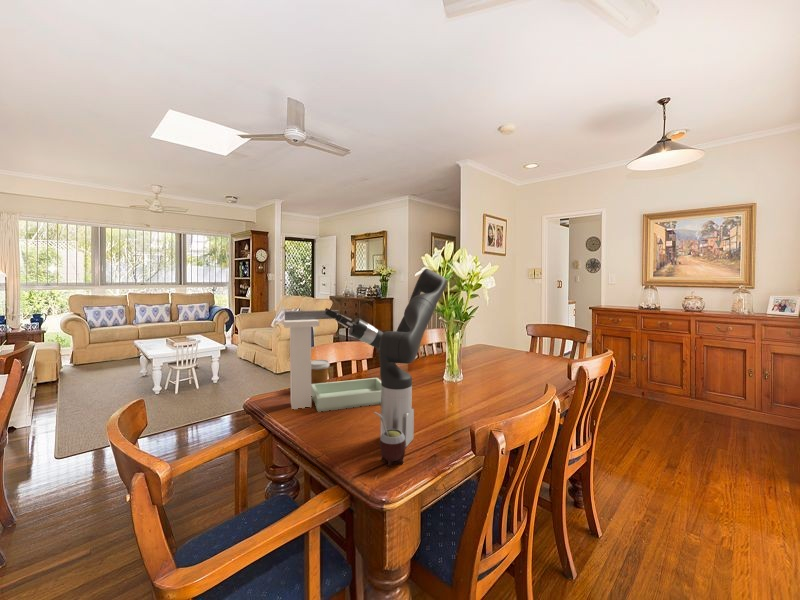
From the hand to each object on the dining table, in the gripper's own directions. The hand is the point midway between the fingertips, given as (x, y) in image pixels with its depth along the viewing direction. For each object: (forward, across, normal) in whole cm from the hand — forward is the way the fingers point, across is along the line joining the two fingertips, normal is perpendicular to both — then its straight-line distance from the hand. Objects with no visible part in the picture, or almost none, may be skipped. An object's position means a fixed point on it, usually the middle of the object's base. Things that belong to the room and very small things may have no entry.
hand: (325, 310), depth 135 cm
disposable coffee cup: (-18, -17, +32) cm, 40 cm away
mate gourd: (-26, +50, +27) cm, 63 cm away
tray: (-26, 0, +26) cm, 37 cm away
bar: (+3, 0, +5) cm, 6 cm away
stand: (-10, 0, +36) cm, 37 cm away
